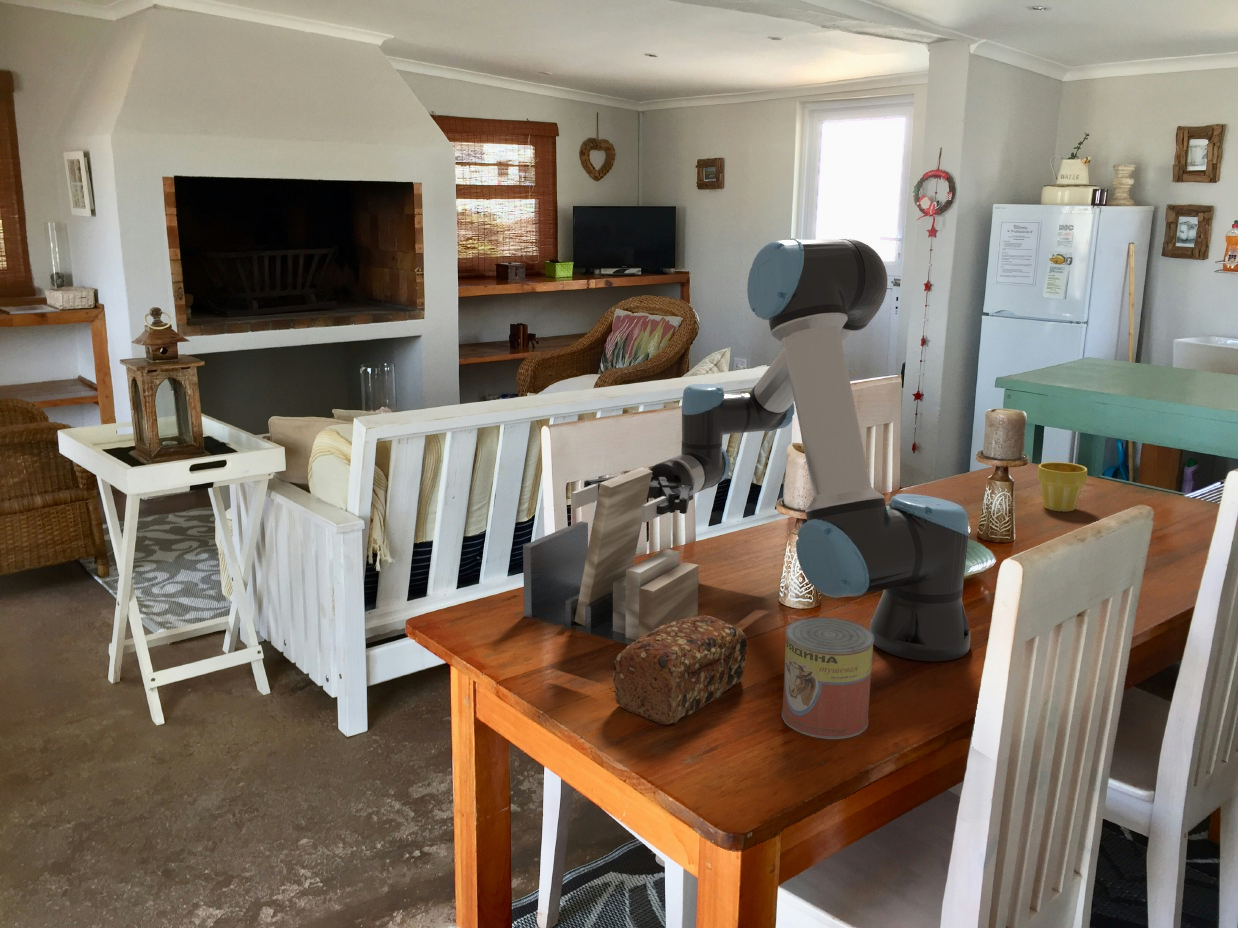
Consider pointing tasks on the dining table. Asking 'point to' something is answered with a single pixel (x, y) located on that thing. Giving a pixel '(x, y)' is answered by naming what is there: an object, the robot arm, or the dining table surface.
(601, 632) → the metal rack
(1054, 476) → the plant pot
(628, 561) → the plywood sheet
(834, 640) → the canned food
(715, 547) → the dining table surface
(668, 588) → the offcut stack
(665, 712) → the bread
